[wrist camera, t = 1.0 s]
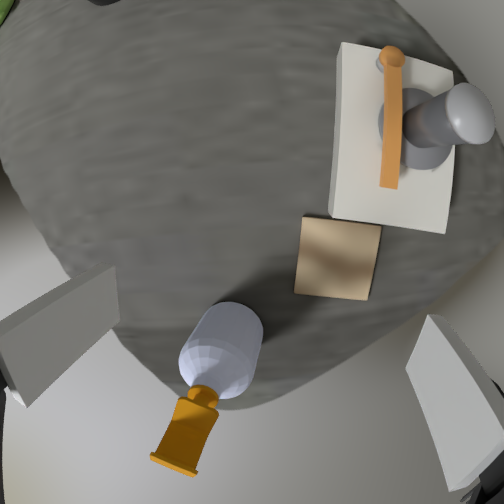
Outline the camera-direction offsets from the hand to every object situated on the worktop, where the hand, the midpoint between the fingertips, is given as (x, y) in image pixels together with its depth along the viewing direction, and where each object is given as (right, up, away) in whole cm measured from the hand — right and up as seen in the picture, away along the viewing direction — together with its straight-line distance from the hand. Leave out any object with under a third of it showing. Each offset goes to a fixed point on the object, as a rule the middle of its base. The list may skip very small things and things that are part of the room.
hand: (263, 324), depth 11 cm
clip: (+13, +16, +13) cm, 25 cm away
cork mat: (+10, +2, +25) cm, 27 cm away
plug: (+18, +17, +19) cm, 31 cm away
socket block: (+16, +17, +19) cm, 30 cm away
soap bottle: (-3, -8, +30) cm, 31 cm away
